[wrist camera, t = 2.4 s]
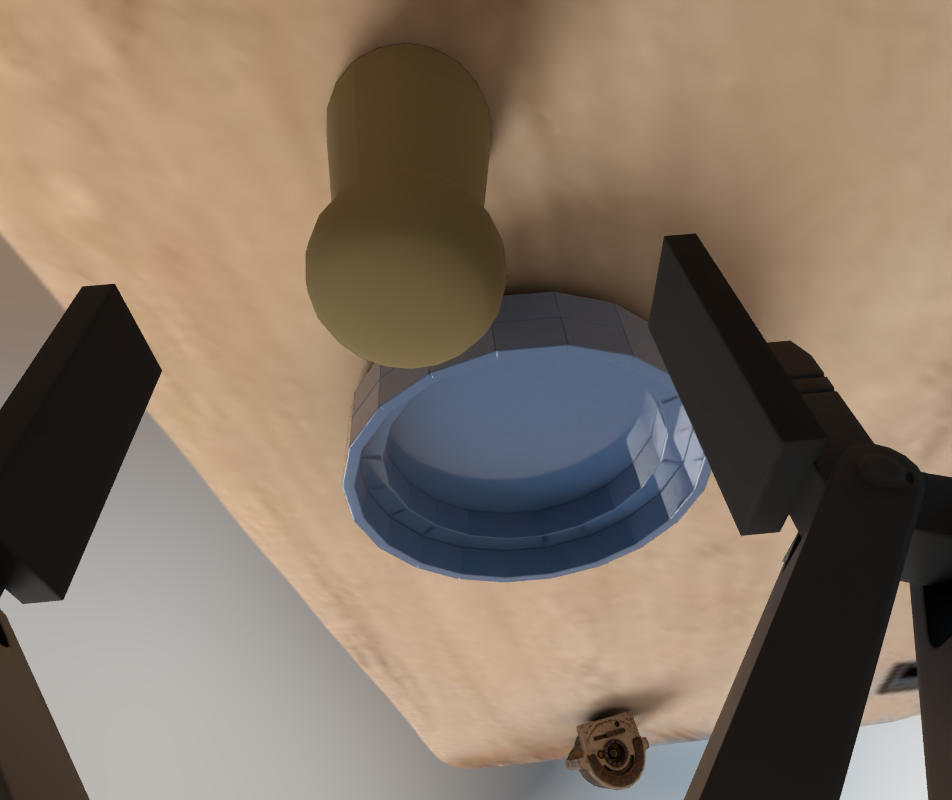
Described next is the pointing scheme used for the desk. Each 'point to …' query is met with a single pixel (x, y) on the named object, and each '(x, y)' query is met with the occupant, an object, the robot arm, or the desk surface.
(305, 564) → the desk surface
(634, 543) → the bowl
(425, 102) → the olive peg doll
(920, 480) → the robot arm
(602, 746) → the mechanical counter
